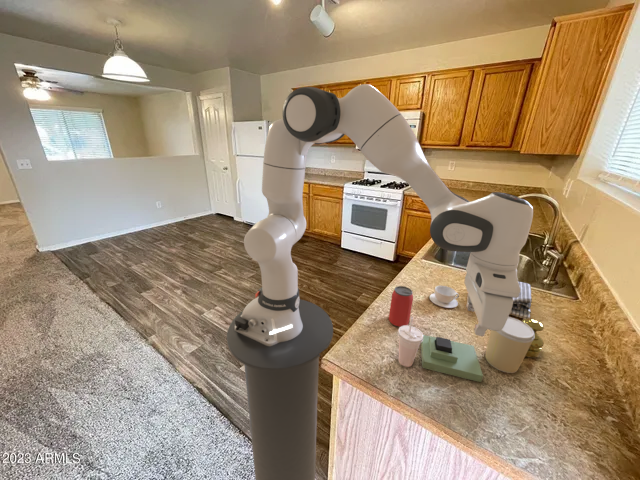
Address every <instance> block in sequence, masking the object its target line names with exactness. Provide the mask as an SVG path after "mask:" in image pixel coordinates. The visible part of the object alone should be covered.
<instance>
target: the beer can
mask: <svg viewBox="0 0 640 480" xmlns="http://www.w3.org/2000/svg"><path fill="white" fill-rule="evenodd" d="M413 302H414V295H413V290H412V289H411V288H410V287H407V286H403V285H398V286H396V287H394V289H393V291H392V293H391V300H390V307H389V314H388V321H389V323H390V324H391V325H393V326H395V327H398V328H400V327H401V326H404V325H410V320H411V313H412V307H413Z"/></svg>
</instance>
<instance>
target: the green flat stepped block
mask: <svg viewBox="0 0 640 480" xmlns="http://www.w3.org/2000/svg"><path fill="white" fill-rule="evenodd" d="M436 337H437V336H432V335H427V334H423V341H422V343H420V351H421V366H422V369H426V370H429V371H430V370H431V371H434V372H438V373H442V374H447V375H450V376H455V377H458V378H462V379H466V380H470V381H474V382H478V383H482V382H483V381H482V380H483V378H484V374H483V371H482V367H481V365H480V362H479V358H478V355H477V352H476V349H475V345H472V344H468V343H462V342H459V341H454V340H450V341H451V345H452V351H451V353H447V352H443V351H439V350H436V343H435V341H436Z"/></svg>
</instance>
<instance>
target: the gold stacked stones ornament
mask: <svg viewBox="0 0 640 480" xmlns="http://www.w3.org/2000/svg"><path fill="white" fill-rule="evenodd" d="M521 321H522V322H524V323H525V324H527V325H528V326H530V327H531V328H532V330H533V331H534V334H535V338H534V340H533V341H532V343H531V345H530V347H529V349H528V351H527V353H526V355H525V357H527V358H537V357H539V356H540V354H541V351H542V348H543V347H544V345H545V341H544V339H543V338H542V337H541V336H540V335H539V334H538V332H542V331H544V329H545V326H544V325H543V324H542V322H540V321H538V320H536V319H535V318H530V319H529V318H525V319H523V318H522V320H521Z"/></svg>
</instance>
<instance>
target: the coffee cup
mask: <svg viewBox="0 0 640 480" xmlns="http://www.w3.org/2000/svg"><path fill="white" fill-rule="evenodd" d="M534 338H535V334H534V331H533V330H532V328H531V327H530V326H528V325H527V324H525V323H524V322H522V320H519V319H518V318H515V317H511V316H508V319H507V321H506V323H505V326H504V327H503V329H502V330H500V331H493V330H489V335H488V340H487V345H486V349H485V354H484V356H485V360H486V361H487V363H488V364H489V365H490V366H491V367H493V368H494V369H496V370H498V371H500V372H503V373H506V374H514V373H517V371H518V370H519V368H520V366H521V365H522V363H523V361H524V359H525V357H526V356H525V355H526V353H527V351H528V349H529V347H530V345H531V343H532V341H533V340H534Z"/></svg>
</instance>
